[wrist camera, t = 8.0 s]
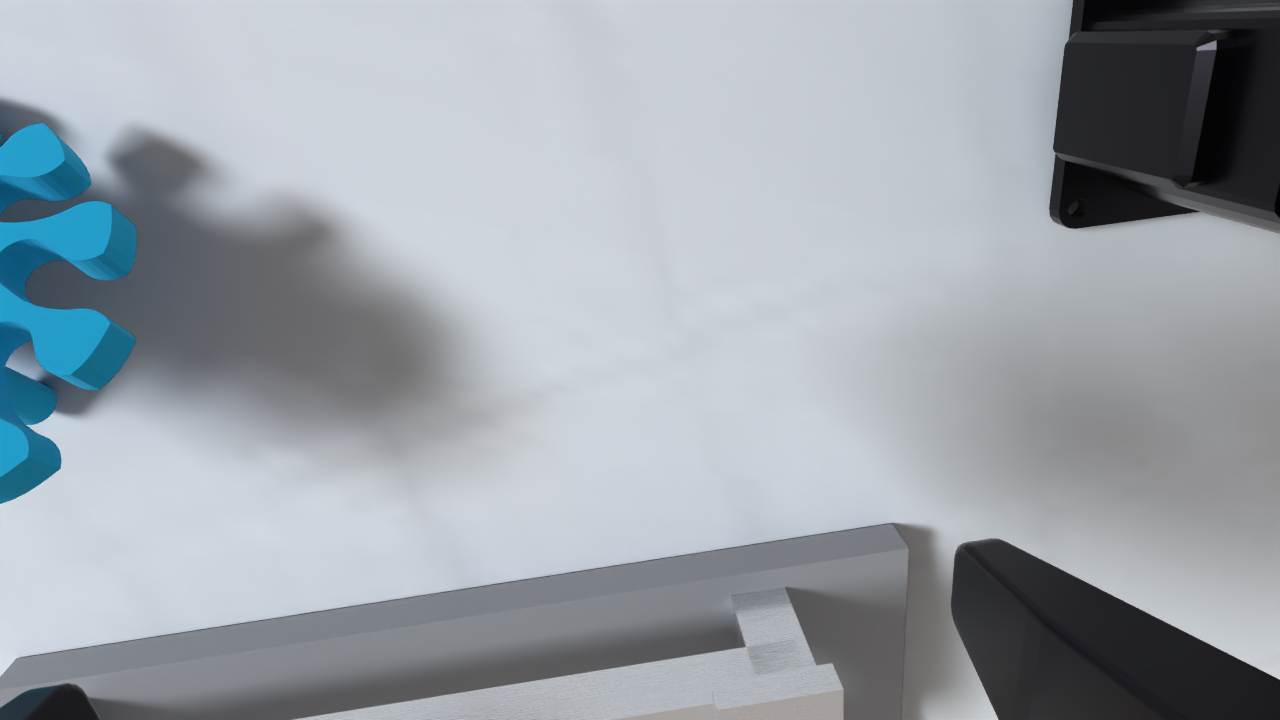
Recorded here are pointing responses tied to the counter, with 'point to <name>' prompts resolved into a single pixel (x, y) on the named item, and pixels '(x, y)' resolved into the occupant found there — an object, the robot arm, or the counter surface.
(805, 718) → the divider frame
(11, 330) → the gear
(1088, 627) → the robot arm
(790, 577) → the bolt plate
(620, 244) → the counter surface
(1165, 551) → the counter surface
